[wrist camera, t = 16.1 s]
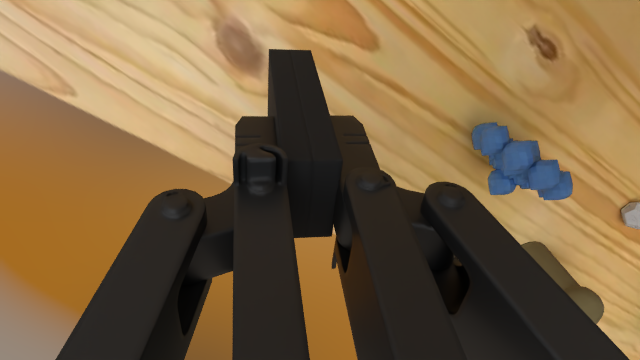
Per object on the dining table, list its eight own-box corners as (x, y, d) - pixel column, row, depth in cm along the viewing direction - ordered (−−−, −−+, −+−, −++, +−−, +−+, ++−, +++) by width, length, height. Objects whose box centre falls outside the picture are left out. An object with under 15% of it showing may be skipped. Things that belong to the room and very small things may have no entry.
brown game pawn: (497, 264, 58) (556, 325, 48) (534, 233, 57) (601, 289, 47) (519, 286, 60) (579, 348, 51) (554, 257, 60) (621, 314, 50)
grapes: (424, 145, 47) (487, 197, 37) (466, 92, 46) (543, 131, 35) (492, 192, 52) (564, 251, 42) (532, 146, 51) (617, 195, 40)
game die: (632, 222, 60) (651, 234, 57) (611, 221, 59) (629, 233, 56) (644, 198, 59) (665, 210, 56) (622, 197, 58) (642, 208, 55)
